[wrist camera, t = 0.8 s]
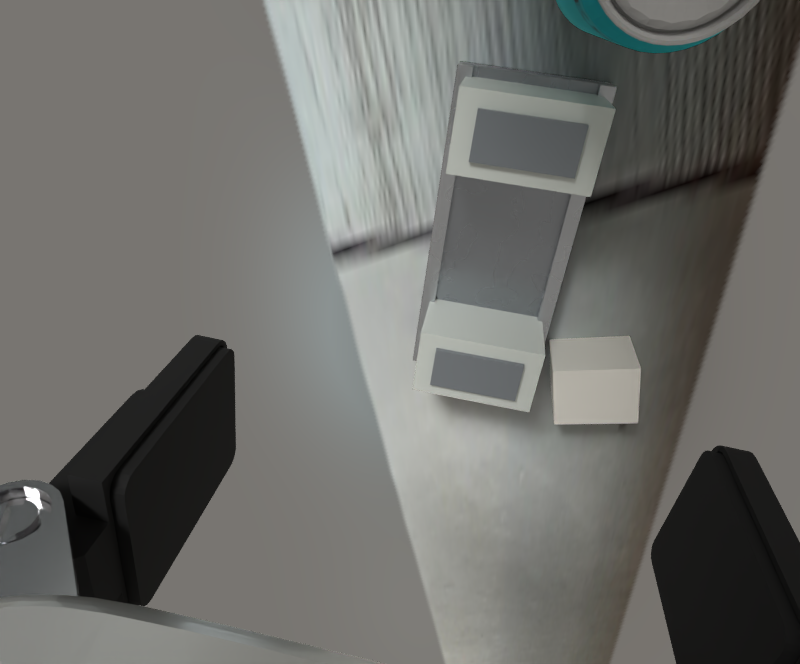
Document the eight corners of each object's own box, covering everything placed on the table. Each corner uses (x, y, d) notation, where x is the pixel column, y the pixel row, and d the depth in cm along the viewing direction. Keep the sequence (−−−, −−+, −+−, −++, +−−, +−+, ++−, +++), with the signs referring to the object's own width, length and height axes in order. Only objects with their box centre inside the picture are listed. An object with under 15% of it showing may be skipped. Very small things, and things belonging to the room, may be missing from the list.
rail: (460, 61, 31) (457, 64, 30) (611, 82, 31) (617, 87, 29) (417, 345, 40) (412, 360, 39) (532, 366, 40) (533, 383, 38)
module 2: (430, 297, 37) (420, 334, 33) (541, 317, 36) (545, 358, 32) (422, 351, 39) (411, 392, 35) (527, 371, 38) (529, 415, 34)
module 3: (549, 338, 39) (552, 371, 35) (629, 335, 38) (640, 368, 34) (550, 388, 41) (554, 424, 37) (627, 386, 39) (637, 423, 36)
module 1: (466, 75, 30) (458, 86, 26) (602, 95, 30) (617, 109, 26) (453, 153, 32) (445, 175, 28) (581, 173, 32) (591, 199, 28)
